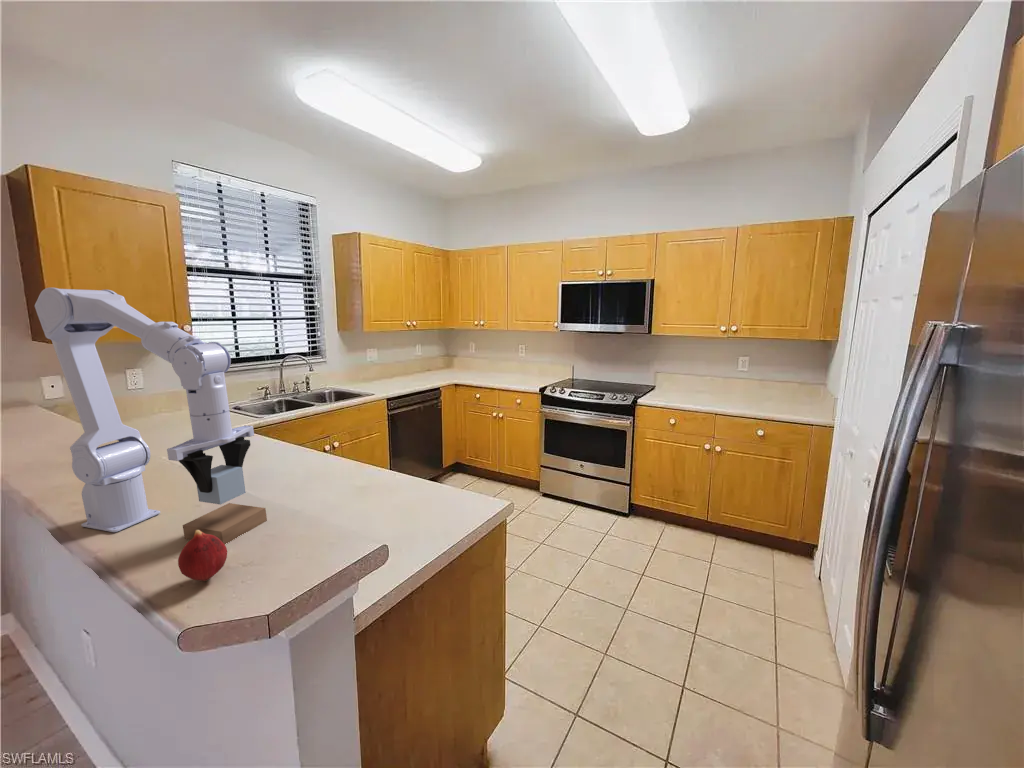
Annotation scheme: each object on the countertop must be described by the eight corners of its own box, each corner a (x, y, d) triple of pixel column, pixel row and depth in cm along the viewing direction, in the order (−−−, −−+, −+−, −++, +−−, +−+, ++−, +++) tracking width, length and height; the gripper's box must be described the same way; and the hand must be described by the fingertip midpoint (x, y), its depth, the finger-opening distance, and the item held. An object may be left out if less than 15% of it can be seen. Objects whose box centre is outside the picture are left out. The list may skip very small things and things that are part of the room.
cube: (199, 501, 75) (195, 474, 74) (225, 489, 80) (221, 464, 79) (220, 504, 74) (216, 477, 73) (245, 492, 79) (242, 467, 78)
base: (185, 540, 75) (182, 525, 75) (231, 517, 84) (229, 503, 83) (223, 547, 73) (221, 531, 72) (267, 522, 81) (265, 508, 81)
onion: (238, 567, 66) (231, 520, 65) (214, 591, 60) (205, 540, 59) (200, 569, 66) (192, 521, 65) (172, 593, 60) (163, 541, 59)
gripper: (184, 424, 66) (198, 505, 69) (262, 404, 80) (271, 472, 82) (152, 421, 68) (166, 500, 71) (234, 402, 82) (243, 469, 84)
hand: (220, 485), depth 77 cm, fingers closed on cube, 5 cm apart
